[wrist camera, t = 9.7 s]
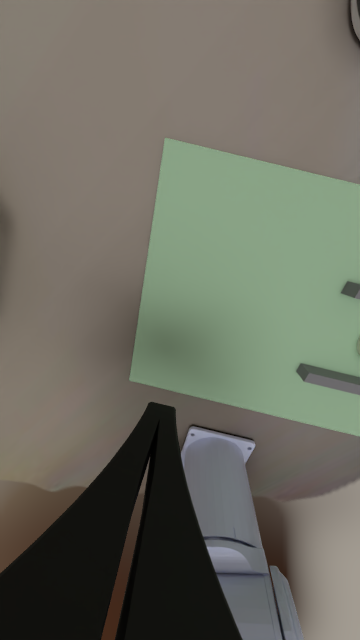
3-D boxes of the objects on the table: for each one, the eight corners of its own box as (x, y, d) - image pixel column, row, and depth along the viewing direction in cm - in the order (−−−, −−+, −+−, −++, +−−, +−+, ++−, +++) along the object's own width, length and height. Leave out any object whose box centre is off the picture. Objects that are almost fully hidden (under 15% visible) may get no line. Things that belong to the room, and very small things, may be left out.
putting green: (357, 433, 21) (360, 436, 21) (130, 378, 21) (129, 380, 21) (534, 229, 13) (541, 228, 13) (165, 139, 13) (165, 137, 13)
